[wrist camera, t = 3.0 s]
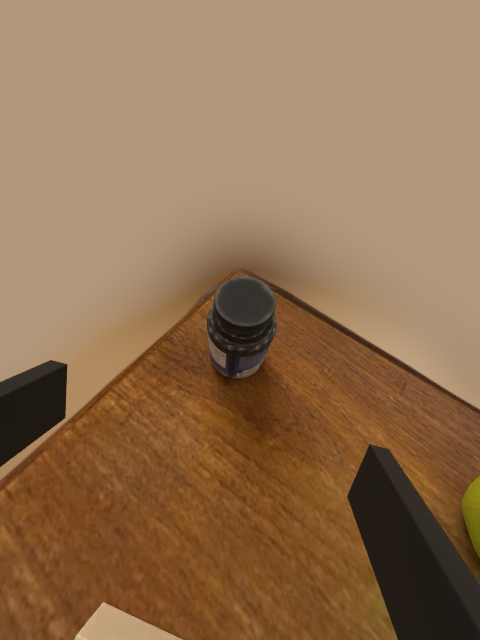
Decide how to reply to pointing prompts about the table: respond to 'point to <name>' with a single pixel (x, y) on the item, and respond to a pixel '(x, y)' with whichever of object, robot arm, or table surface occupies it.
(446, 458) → the table surface
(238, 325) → the pill bottle
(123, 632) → the blue topped tan slab
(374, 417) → the table surface
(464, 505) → the fruit
